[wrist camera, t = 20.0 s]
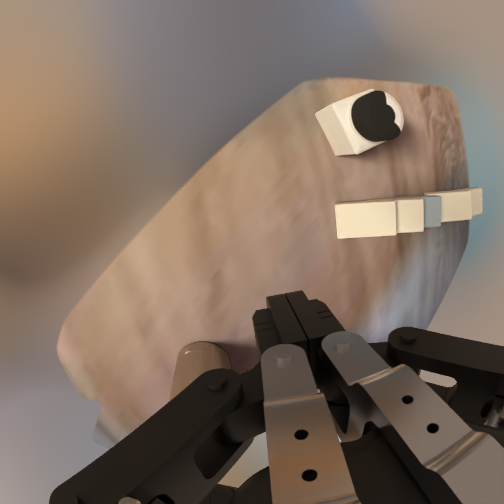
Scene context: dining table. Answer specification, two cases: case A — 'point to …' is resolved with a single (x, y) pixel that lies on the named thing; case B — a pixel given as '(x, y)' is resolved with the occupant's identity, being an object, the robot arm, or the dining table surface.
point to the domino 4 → (454, 205)
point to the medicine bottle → (361, 122)
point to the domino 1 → (365, 218)
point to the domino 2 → (408, 214)
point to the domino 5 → (475, 199)
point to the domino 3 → (429, 209)
